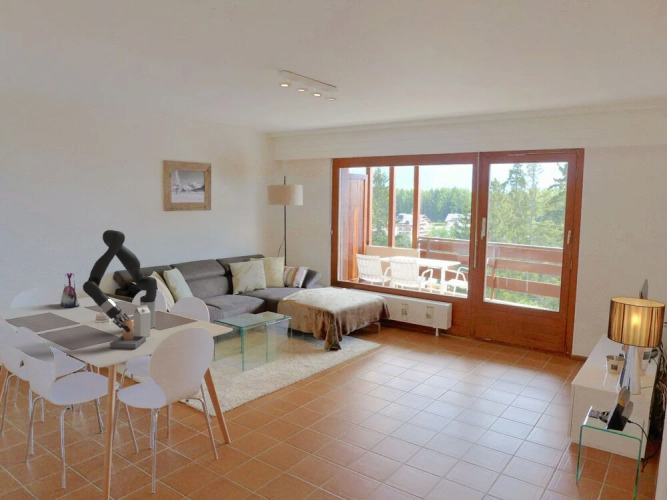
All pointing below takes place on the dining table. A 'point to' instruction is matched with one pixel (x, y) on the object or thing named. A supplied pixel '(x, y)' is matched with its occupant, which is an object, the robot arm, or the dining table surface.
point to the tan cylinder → (131, 325)
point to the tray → (128, 343)
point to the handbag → (69, 295)
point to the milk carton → (142, 321)
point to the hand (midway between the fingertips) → (131, 330)
